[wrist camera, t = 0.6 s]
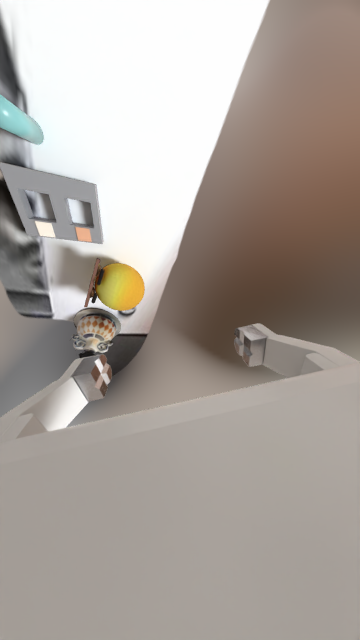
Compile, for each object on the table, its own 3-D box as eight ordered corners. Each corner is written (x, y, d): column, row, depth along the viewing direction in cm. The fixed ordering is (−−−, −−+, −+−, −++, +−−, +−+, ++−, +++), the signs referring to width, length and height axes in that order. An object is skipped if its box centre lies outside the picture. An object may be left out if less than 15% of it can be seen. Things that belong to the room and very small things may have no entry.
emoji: (101, 245, 46) (95, 263, 35) (149, 266, 54) (155, 286, 43) (90, 287, 53) (82, 313, 42) (133, 300, 61) (135, 325, 51)
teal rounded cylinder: (16, 128, 29) (-29, 104, 21) (23, 109, 28) (-21, 75, 19) (39, 149, 31) (7, 135, 23) (46, 132, 30) (16, 110, 22)
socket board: (6, 163, 31) (-4, 161, 29) (96, 184, 37) (94, 184, 35) (32, 232, 39) (26, 235, 37) (103, 241, 45) (102, 244, 43)
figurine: (70, 333, 64) (52, 373, 49) (78, 300, 56) (59, 335, 41) (114, 341, 73) (110, 377, 58) (126, 313, 65) (124, 346, 50)
